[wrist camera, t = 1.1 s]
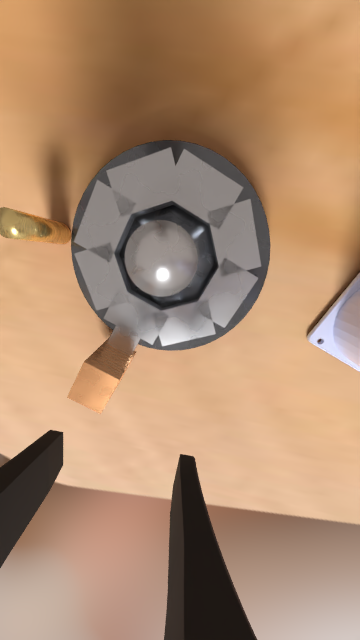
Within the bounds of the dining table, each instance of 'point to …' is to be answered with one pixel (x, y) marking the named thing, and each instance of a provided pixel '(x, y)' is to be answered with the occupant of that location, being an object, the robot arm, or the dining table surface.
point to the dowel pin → (32, 227)
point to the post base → (175, 245)
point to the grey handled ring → (111, 280)
